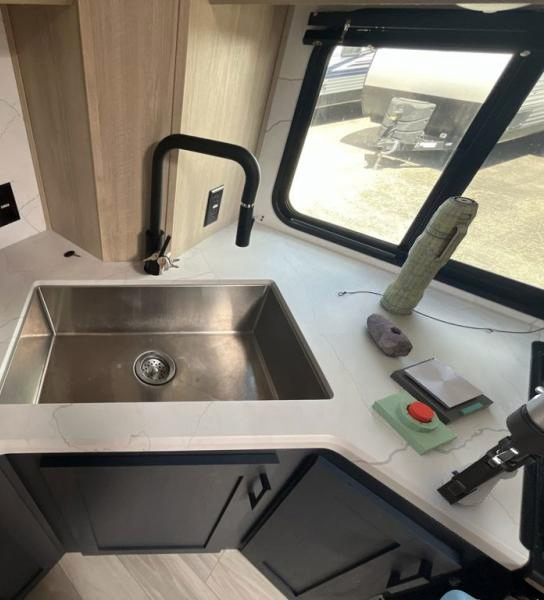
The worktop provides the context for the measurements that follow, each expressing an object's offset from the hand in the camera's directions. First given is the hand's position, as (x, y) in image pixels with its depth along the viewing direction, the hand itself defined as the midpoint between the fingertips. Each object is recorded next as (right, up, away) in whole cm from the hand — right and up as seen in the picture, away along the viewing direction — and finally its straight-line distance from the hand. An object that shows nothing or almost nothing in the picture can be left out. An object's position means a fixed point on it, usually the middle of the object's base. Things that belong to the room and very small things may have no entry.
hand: (457, 490), depth 60 cm
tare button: (+1, +11, +9) cm, 14 cm away
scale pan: (+12, +16, +17) cm, 26 cm away
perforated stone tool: (+8, +24, +31) cm, 40 cm away
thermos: (+22, +33, +43) cm, 58 cm away
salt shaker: (0, -1, +1) cm, 1 cm away
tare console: (+1, +8, +12) cm, 14 cm away
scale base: (+13, +13, +18) cm, 26 cm away
